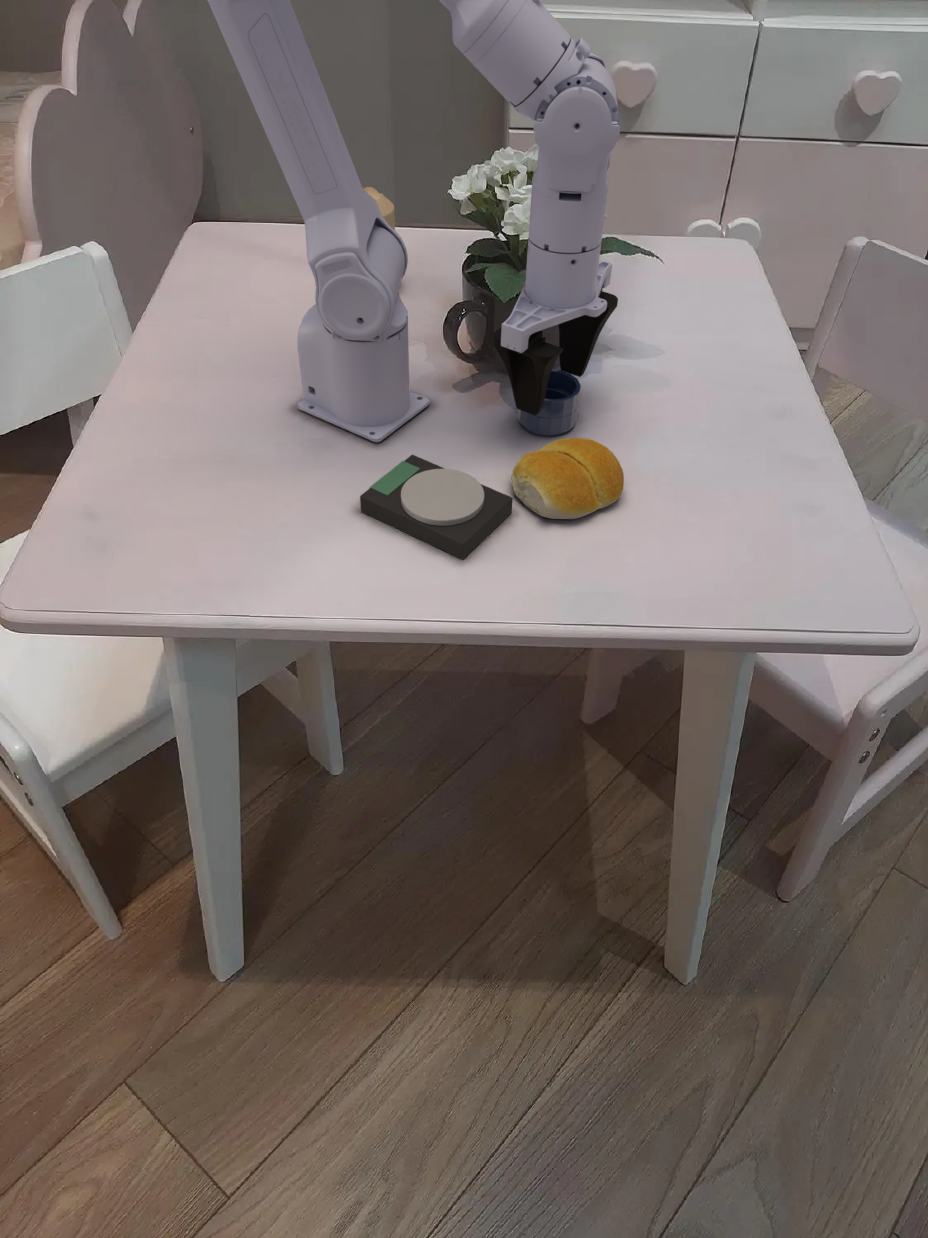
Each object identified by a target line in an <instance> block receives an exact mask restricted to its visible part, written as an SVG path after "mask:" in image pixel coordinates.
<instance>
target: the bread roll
mask: <svg viewBox="0 0 928 1238" xmlns="http://www.w3.org/2000/svg"><path fill="white" fill-rule="evenodd" d="M510 479H511V486H512V490H513V493H514V495H515V496H516V497H517V498H518V499H519V500H520V501H521V502H522V503H523V504H524V506H525V507H527V508H528V509H529V510H531V511H532V512H533V513H535V514H537V515H539V516H541V517H544V518H547V519H551V520H575V519H580V518H582V517H583V518H584V517H585V516H588V515H590V514H592V513H594V512H596V511H598V510H599V509H604V508H606V507H608V506H610V505H611V504H613V503H615V502H617V501H618V500H619V499H620V498H621V496H622V493H623V490H624V485H625V482H624V481H625V479H624V471H623V468H622V465H621V463H620V460H619V459H618V458H617V456H616V455H615V453H613V452H612V451H611V449H609V447H607V446H606V445H604V444H602V443H600V442H598V441H596V440H593V439H590V438H585V437H584V438H583V437H571V438H560V439H556V440H554V441H553V440H552V441H551V442H549V443H547V444H545V445H544V446H542V447H540V448H539V449H537V450H533V451H530V452H527V453H524V454H523V455H522V456H521V457H520V459H518V461H517V462H516V464H515V465H514V468H513V469H512V474H511V477H510Z"/></svg>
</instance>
